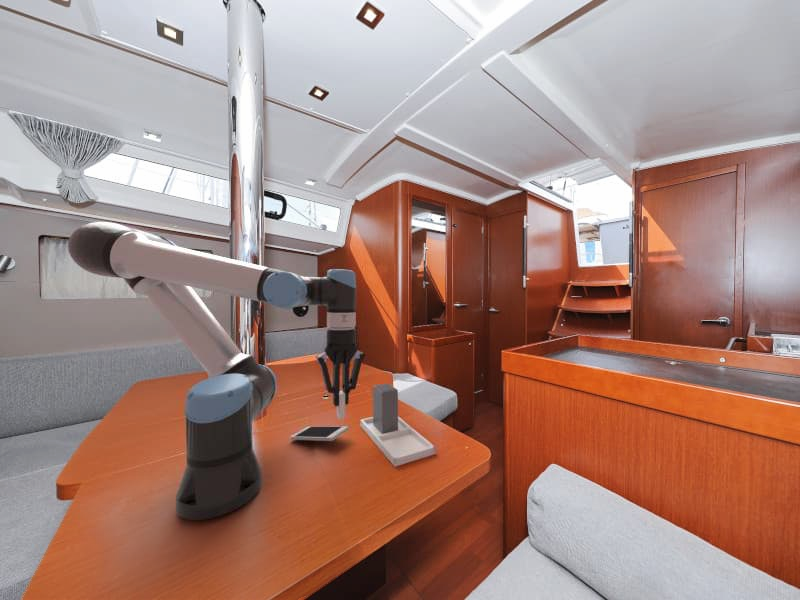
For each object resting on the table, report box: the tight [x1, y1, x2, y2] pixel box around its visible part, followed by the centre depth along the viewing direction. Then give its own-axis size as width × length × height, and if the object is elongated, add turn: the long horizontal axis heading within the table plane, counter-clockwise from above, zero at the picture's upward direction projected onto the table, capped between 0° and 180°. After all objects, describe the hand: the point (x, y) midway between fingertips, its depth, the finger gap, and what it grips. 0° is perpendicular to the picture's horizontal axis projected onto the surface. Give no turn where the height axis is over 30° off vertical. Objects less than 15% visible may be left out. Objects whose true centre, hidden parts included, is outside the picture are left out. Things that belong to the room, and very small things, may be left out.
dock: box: [359, 383, 436, 468], centre depth 80 cm, size 11×24×13 cm, turn 27°
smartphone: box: [289, 425, 349, 442], centre depth 79 cm, size 7×15×1 cm, turn 63°
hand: (340, 416), depth 75 cm, fingers closed
